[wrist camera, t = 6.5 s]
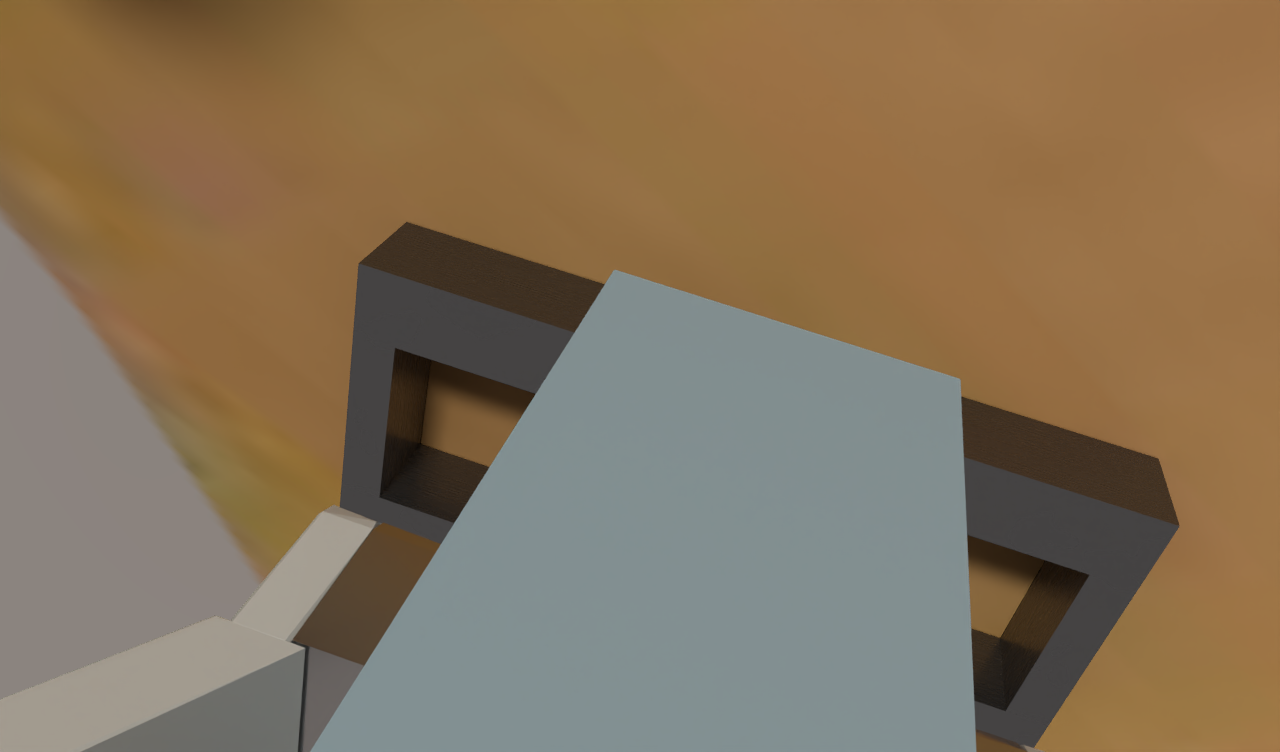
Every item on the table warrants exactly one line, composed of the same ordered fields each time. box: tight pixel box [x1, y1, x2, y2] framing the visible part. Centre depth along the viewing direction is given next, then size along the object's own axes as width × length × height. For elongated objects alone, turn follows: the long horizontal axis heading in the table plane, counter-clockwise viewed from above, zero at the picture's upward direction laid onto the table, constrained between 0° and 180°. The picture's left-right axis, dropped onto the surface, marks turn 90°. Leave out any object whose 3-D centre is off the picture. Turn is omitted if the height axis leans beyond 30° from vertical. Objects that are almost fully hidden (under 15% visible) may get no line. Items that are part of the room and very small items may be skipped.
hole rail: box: [340, 222, 1179, 748], centre depth 31 cm, size 22×10×3 cm, turn 77°
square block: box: [310, 270, 976, 752], centre depth 9 cm, size 4×4×8 cm
